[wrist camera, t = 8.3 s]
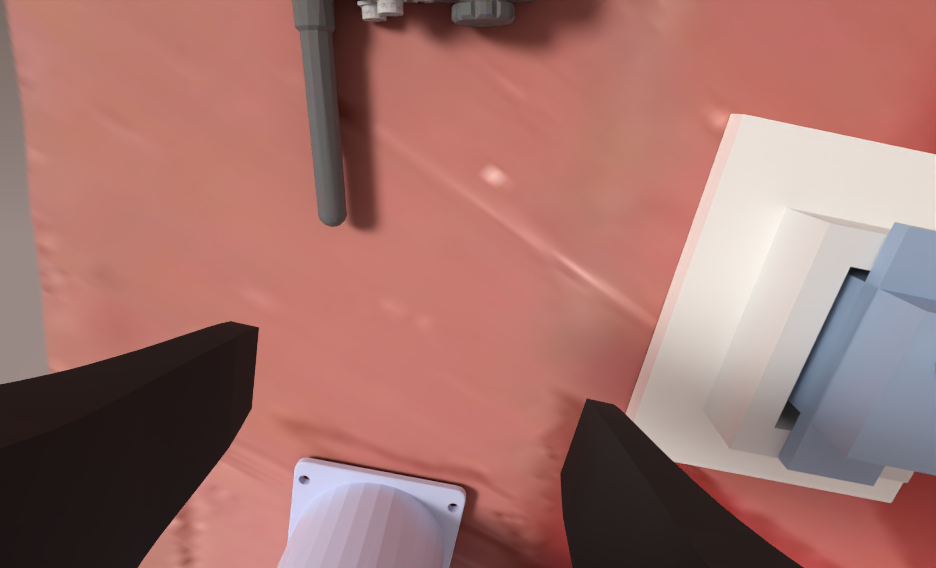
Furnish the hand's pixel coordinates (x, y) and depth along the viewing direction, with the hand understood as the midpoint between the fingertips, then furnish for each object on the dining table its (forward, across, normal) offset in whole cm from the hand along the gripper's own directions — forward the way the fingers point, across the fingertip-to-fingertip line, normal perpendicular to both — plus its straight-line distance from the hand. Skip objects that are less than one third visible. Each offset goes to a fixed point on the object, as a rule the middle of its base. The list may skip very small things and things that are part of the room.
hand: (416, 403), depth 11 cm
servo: (+9, -15, -1) cm, 17 cm away
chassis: (+10, -15, -1) cm, 18 cm away
